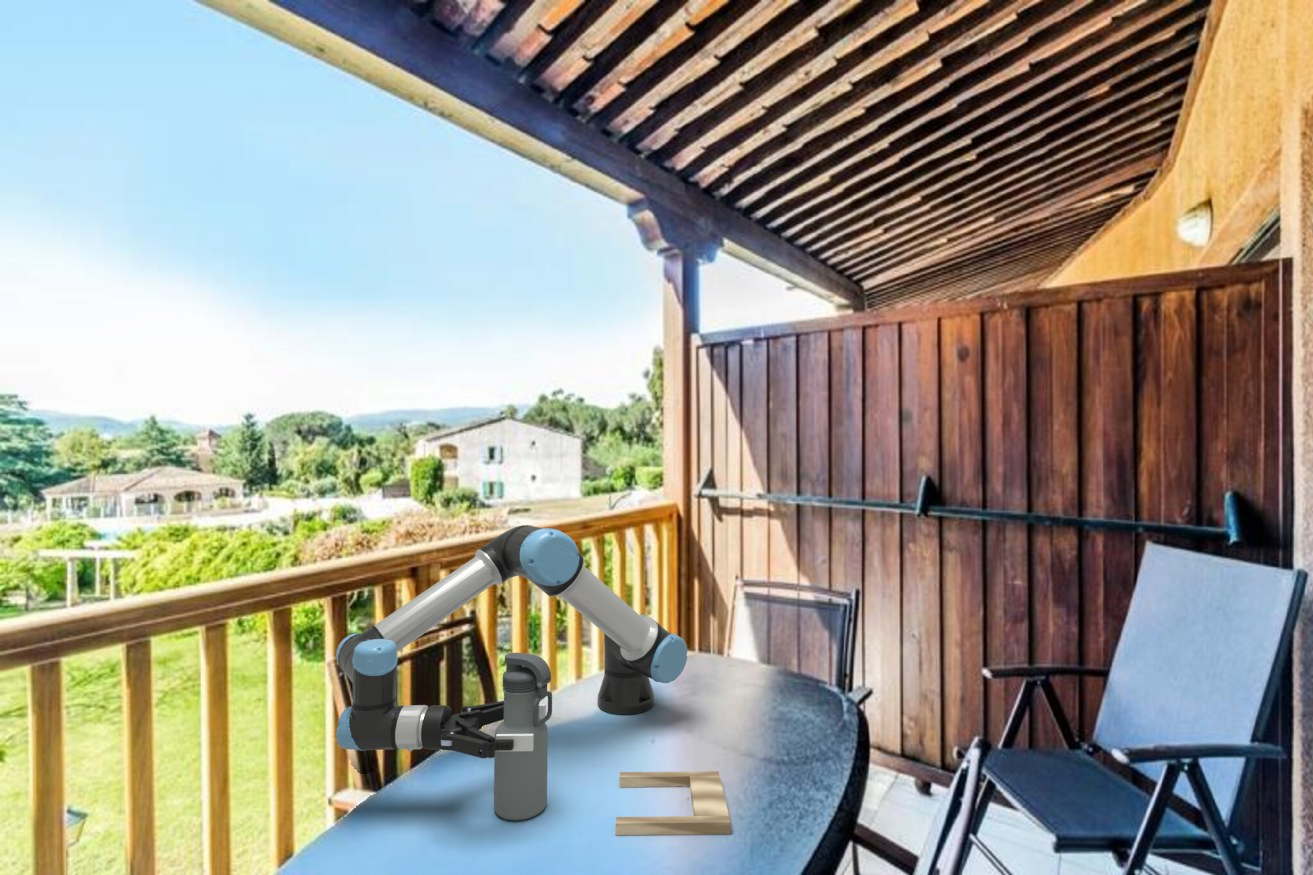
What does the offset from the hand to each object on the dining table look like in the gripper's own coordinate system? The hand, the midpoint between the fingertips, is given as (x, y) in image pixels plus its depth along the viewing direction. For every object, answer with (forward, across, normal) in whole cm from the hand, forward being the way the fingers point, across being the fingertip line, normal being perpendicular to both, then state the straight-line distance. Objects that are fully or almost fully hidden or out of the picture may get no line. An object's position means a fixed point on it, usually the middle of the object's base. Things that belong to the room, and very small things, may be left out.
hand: (539, 726), depth 118 cm
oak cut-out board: (+25, 0, -15) cm, 29 cm away
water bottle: (-3, 0, -15) cm, 16 cm away
